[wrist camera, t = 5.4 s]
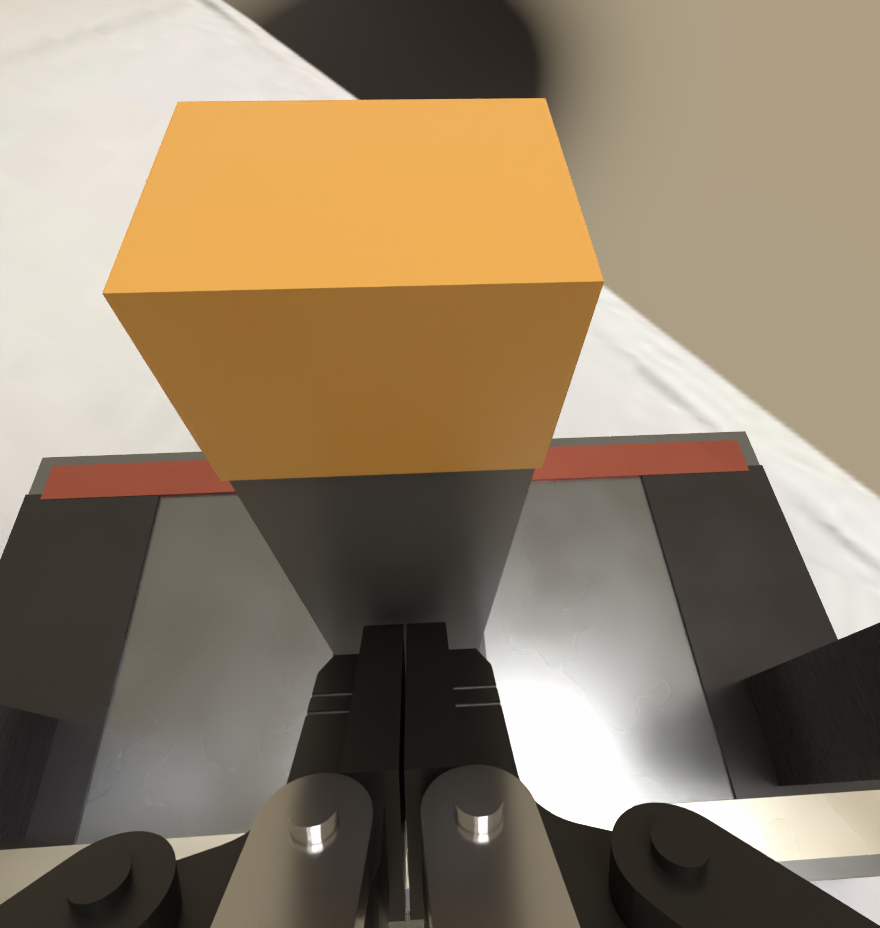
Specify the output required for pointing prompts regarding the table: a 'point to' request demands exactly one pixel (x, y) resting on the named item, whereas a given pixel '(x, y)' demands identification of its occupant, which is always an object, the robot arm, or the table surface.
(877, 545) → the table surface
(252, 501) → the lever
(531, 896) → the robot arm
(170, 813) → the pillared base stand
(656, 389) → the table surface
